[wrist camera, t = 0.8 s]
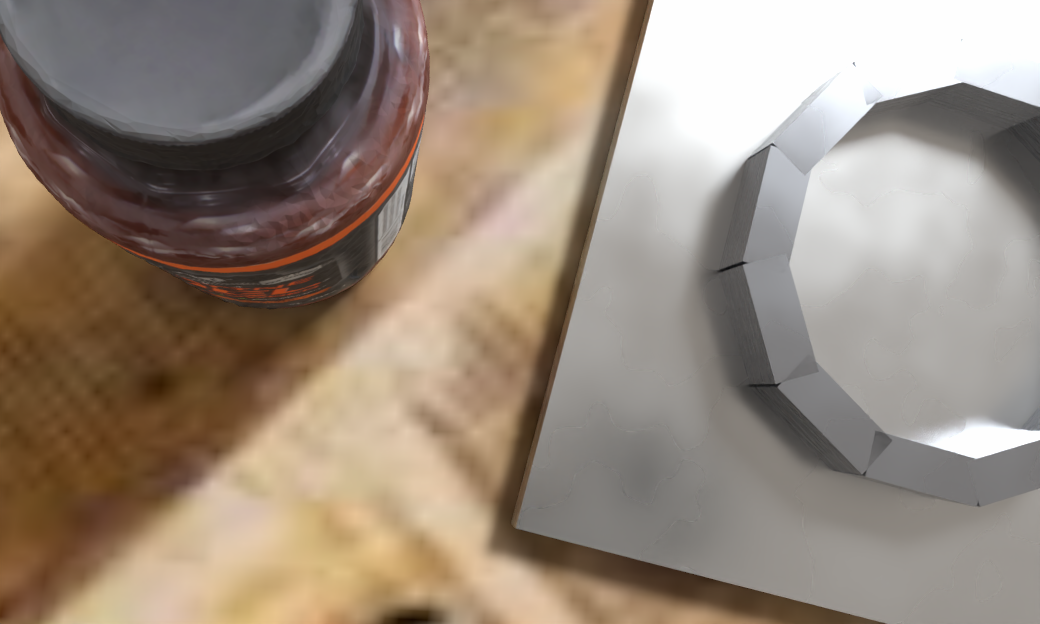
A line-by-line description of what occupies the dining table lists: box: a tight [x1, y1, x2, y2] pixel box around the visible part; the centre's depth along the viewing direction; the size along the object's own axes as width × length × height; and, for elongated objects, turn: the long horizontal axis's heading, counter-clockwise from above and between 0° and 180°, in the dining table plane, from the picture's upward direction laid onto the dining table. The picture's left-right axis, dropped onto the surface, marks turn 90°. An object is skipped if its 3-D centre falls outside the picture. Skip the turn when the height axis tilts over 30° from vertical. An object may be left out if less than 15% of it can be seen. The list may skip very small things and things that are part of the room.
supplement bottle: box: [0, 0, 430, 309], centre depth 16 cm, size 6×6×11 cm
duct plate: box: [511, 0, 1040, 624], centre depth 22 cm, size 16×16×2 cm
